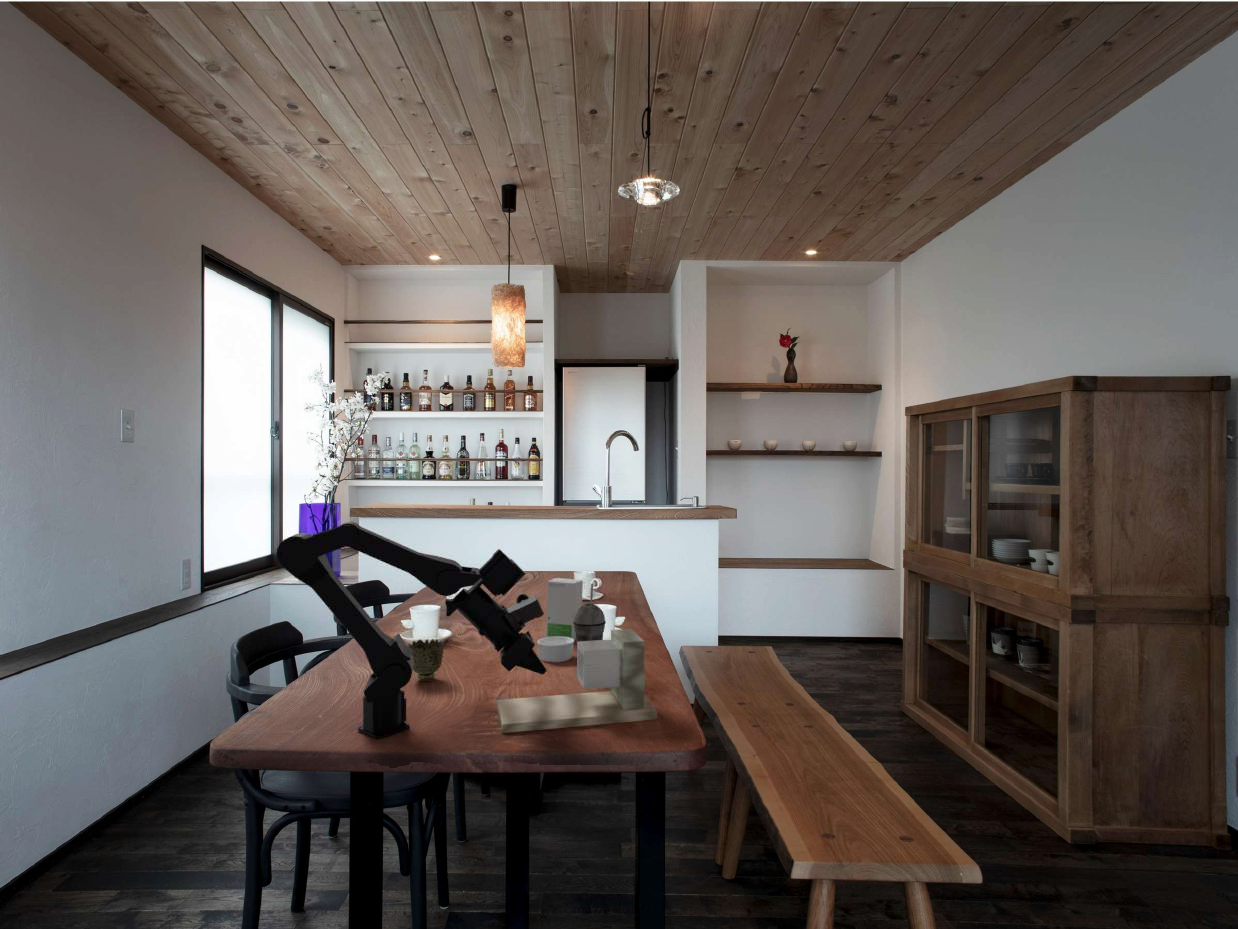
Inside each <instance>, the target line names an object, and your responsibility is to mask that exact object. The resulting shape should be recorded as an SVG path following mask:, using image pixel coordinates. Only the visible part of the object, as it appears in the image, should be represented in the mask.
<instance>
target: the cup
mask: <svg viewBox="0 0 1238 929" xmlns="http://www.w3.org/2000/svg"><path fill="white" fill-rule="evenodd" d="M411 642H412V645H411V644H410V643H408V647H410V648H412V654H411V655H412V656H413V659H414V665H413V672H415V673H416V674H417V680H419V682H431V681H433V680H434V679H435V678H436V672H437V671H438V670H439V669H440V668H441V666H442V663H443V655H444V649H445V648H444V645H445V641H442V640H440V641H439V640H438V639H433V638H432V639H431V640H430V641H429V639H428V638H427V639H425V641H423V640H422V639H418V640H413V641H411Z"/></svg>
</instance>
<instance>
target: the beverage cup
mask: <svg viewBox="0 0 1238 929" xmlns="http://www.w3.org/2000/svg"><path fill="white" fill-rule="evenodd" d="M593 593H594V583H591V584H590V596H589V603H585V604H582V606H581V607H580V608H579V609H578V610H577V612H576V614H575V617H574V622H573V624H574V629H575V632H576V640H575V644H576V645H577V642H578V641H595V640H604V632H605V627H606V617H605V613H604V611H603V610H602V608H601V607H599V606H598V605H597V604H594V603H593V596H594V594H593Z"/></svg>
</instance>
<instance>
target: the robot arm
mask: <svg viewBox="0 0 1238 929" xmlns="http://www.w3.org/2000/svg"><path fill="white" fill-rule="evenodd" d="M345 547H346V548H350V549H352V550H355V551H356V552H360V553H362V554H364V555H366V556H369V557H370V558H372V559H373V558H374V559H376V560H378V561H381V562H383V563H385V564H387V565H389V566H392V567H394V568H396V569H399V570H400V571H404V572H405V573H408V574H409V575H411V576H412V577H413V578H415V579H417V581H419V582H420V583H422V584H423V585H424V586H425V587H427V588H429V589H430V590H432V591H433V592H435V593H436V594H438V595H440V596H443V597H451V596H453V595H455V594H456V595H455V596H454V597H453V598H446V599H445V600H444V604H445V608H446V610H445V615H446V617H450V616H452V615H453V614H454V612H456V611H458V612H459V613H460V614H461V615H462V617H464V618H465V619H466V620H467V621H468V622H469V623H470V624H471V625H472V626H473V627H474V628H475V629H476V630H477V632H478V634H479V635H480V636H481V637H483V636H484V638H486V639H487V640H488V641H489V642H490V643H491V644H492V645H493V648H494V649H495V651H497V652H498V653H499V652H500V653H499V660H500V664H501V666H502V667H504V668H505V669H506V670H507V672H510V671H512V670H513V669H514V668H515V667H519V668H521V669H522V668H523V669H524V670H529V671H531V672H534V673H536V674H539V675H545V674H546V672H547V671H548V670H547V668H546V667H545V665H544V663H543V661H542V660H541V659H540V657H539V655H538V654H537V653H536V651H535V650H534V647H535V645H536V644H535V642H534V639H533V637H532V634H531V633H530V631H529V630H527V631H526V632H522V630H523V629H524V628H525V627H526V624H527V623H528V622H531V621H532V620H534V619H539V618H540V617H543V616H544V615H545V613H544V610H543V608H542V606H541V604H540V601H539V599H538V598H537V596H536V595H530V596H529V595H527V594H526V593H525V592H522V593H520V594H517V595H516V602H515V603H514V604H512V606H510V607H508V608H507V607H506V606H505V605H504V604H500V603H498V602H497V601H496V600H495V599H494V598H493V597H492V596H491V595H490V594H488V592H486V591H485V590H484V589H483V588H482V585H483V586H484V587H485V588H486V589H487V591H489V593H491V594H492V595H493V596H494V597H497V596H500V595H502V596H506V595H507V594H508V592H510V591H511V590H512V589H513V587H515V586H516V585H517V584H518V582H519V581H521V580H522V579H523V578H524V576H525V575H527V573H526V572H525V571H524V570H523V569H522V568H521V567H520V566H519V565H518V563H516V562H515V561H514V560H513V558H510V557H508V555H507V554H505V553H504V552H503V551H502V550H501V549H500V548H497V550H495V552H494V553H493V554H492V556H490V558H489V559H488V560H487V561H486V562H485V563H484V564H483V565H482V566H481V567H480V568H477V567H470V566H463V565H461V564H460V563H459V562H458V561H456V560H453V559H451V558H446V557H442V556H438V555H434V554H428V553H423V552H419V551H416V550H415V549H412V548H410V547H408V546H405V545H403V544H401V543H399V542H396V541H394V540H392V539H390V538H387V537H385V536H383V535H380V534H378V533H375V532H374V531H371V530H369V529H368V528H365V527H363V526H361V525H359V523H357V522H354V521H347V522H345V523H342V524H340V525H339V526H335V527H332V528H329V529H326V530H322V531H321V532H317V533H315V534H310V533H307V532H300V533H295V534H294V535H291V536H289V537H286V538H284V539H283V540H282V541H281V542H280V543H279V544H278V546H277V549H276V555H275V558H276V561H277V562H278V564H279V565H280V567H282V568H283V569H284V570H286V571H287V572H288V573H289V574H291V576H293V578H295V579H297V580H298V581H300V582H302V583H303V584H304V585H307V586H308V587H310V588H311V589H312V590H313V592H314V593H315V594H316V595H317V596H318V597H319V599H320V600H321V601H322V602H323V603H324V604H325V606H327V608H328V609H329V610H330V612H331V613H332V615H333V616H334V617H335V618H336V619H337V620H338V621H339V622H340V623H341V625H342V626H343V627H344V628H345V631H347V632H348V633H349V635H350V636H351V637H352V638H353V639H354V641H355V642H356V643H357V644H358V645H359V646H360V648H361V649H362V650H363V652H364V654H365V657H366V659H367V661H368V663H369V667H370V669H371V670H372V674H370V676H369V677H368V680H367V682H366V685H365V688H364V690H363V695H362V725H360V726H358V727H357V731H359V732H361V733H364V734H366V735H369V736H370V737H373V738H375V739H380V738H383V737H387V736H390V735H393V734H396V733H399V732H401V731H404V730H406V729H407V730H408V729H410V726H411V724H410V723H407V698H406V697H405V690H402V689H403V688H404V687H406V685H407V684H409V682H410V681H411V679H412V675H413V672H414V670H413V665H414V659H413V656H412V655H411V654H412V648H410V647H409V645H407V644H406V643H405V641H404V640H403V638H402V636H401V634H400V633H397V634H396V635H395V636H394V637H391V636H389V635H387V634H386V633H384V632H383V631H382V630H381V629H380V627H379V626H378V625H377V624H376V622H375V621H374V620H373V619H372V618H371V616H370V615H369V614H368V612H367V611H366V610H365V609H364V608H363V606H361V604H360V603H359V602H358V600H357V599H356V598H355V597H354V596H353V595H352V593H351V592H350V591H349V589H348V588H347V587H346V586H345V584H343V582H342V581H341V580H340V579H339V577H338V576H337V575H336V574H335V572H334V571H333V569H332V567H331V564H330V561H329V559H328V557H327V554H329V553H332V552H335V551H338V550H341V549H342V548H345ZM468 587H470V588H469V589H467V588H468Z"/></svg>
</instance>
